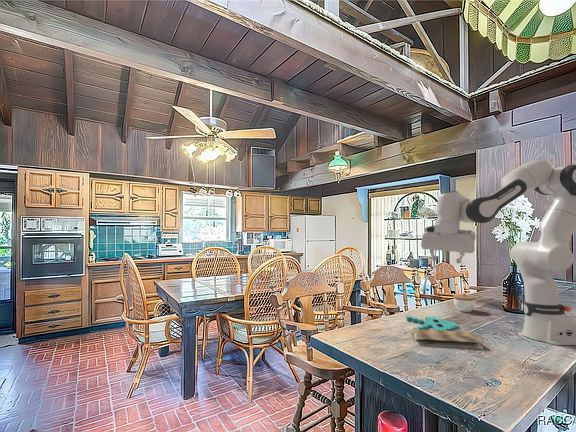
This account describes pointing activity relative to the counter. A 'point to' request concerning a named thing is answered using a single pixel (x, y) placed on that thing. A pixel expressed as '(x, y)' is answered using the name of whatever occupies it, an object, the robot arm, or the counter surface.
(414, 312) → the counter surface
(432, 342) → the underlay mat
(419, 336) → the birch plank
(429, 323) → the alien figure
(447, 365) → the counter surface
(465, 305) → the lidded jar
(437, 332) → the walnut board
